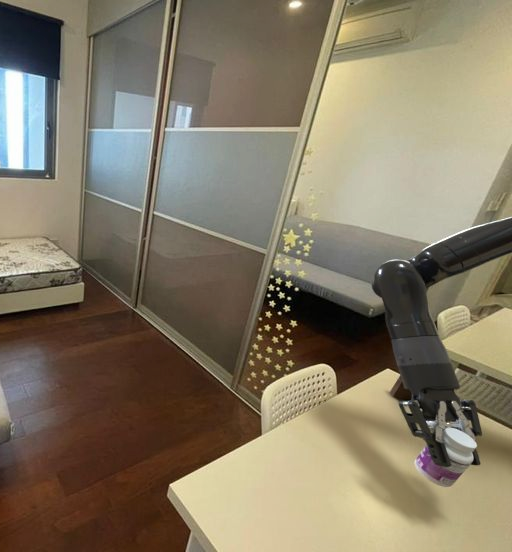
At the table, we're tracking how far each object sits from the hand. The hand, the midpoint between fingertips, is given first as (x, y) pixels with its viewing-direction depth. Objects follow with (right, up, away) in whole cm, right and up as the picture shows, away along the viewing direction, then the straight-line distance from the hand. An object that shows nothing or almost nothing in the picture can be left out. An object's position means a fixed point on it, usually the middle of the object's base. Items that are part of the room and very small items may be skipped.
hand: (457, 464), depth 54 cm
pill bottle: (-1, -4, +4) cm, 5 cm away
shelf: (+23, -4, +30) cm, 38 cm away
